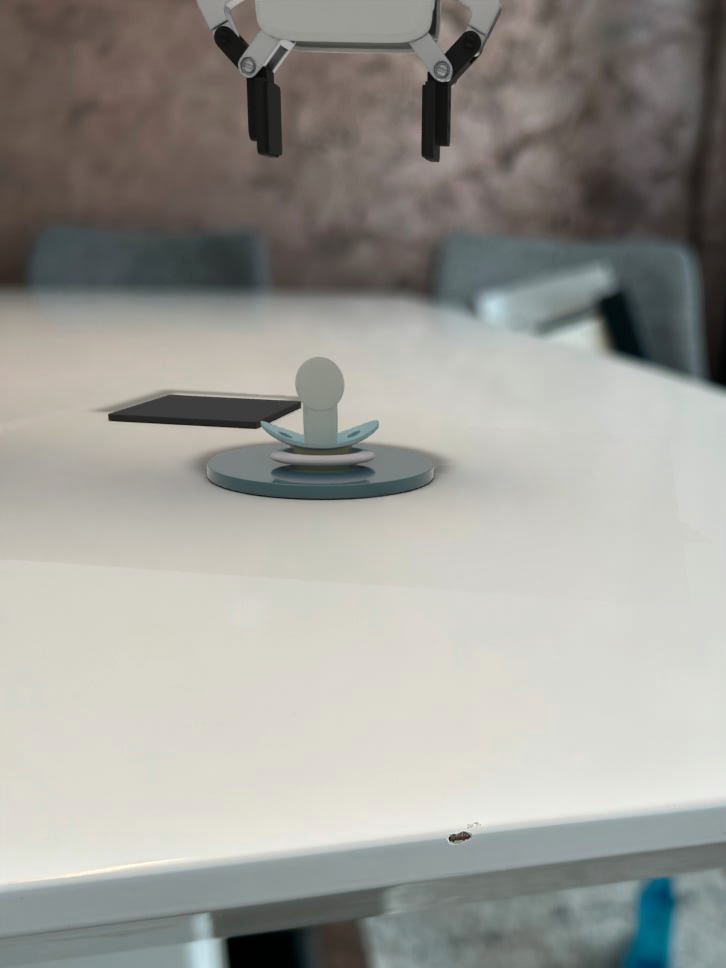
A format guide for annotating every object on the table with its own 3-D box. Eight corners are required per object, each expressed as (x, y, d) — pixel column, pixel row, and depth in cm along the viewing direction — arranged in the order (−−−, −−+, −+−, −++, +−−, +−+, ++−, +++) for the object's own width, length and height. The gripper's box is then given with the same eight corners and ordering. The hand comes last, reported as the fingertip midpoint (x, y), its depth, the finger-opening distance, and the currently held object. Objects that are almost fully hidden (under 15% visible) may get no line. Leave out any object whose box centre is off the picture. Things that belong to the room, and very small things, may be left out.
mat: (108, 420, 86) (107, 413, 86) (169, 400, 97) (169, 394, 97) (256, 428, 85) (256, 421, 85) (301, 406, 96) (301, 401, 96)
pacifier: (386, 472, 67) (374, 451, 72) (386, 367, 65) (375, 353, 70) (263, 474, 66) (261, 452, 71) (259, 366, 63) (257, 352, 69)
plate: (170, 490, 64) (169, 477, 63) (251, 449, 77) (250, 437, 76) (409, 505, 62) (409, 491, 62) (450, 460, 75) (450, 448, 75)
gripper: (511, -163, 62) (500, 166, 68) (211, -165, 64) (226, 159, 69) (502, -215, 55) (490, 157, 61) (165, -216, 57) (185, 149, 62)
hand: (350, 158), depth 65 cm, fingers open, 9 cm apart
